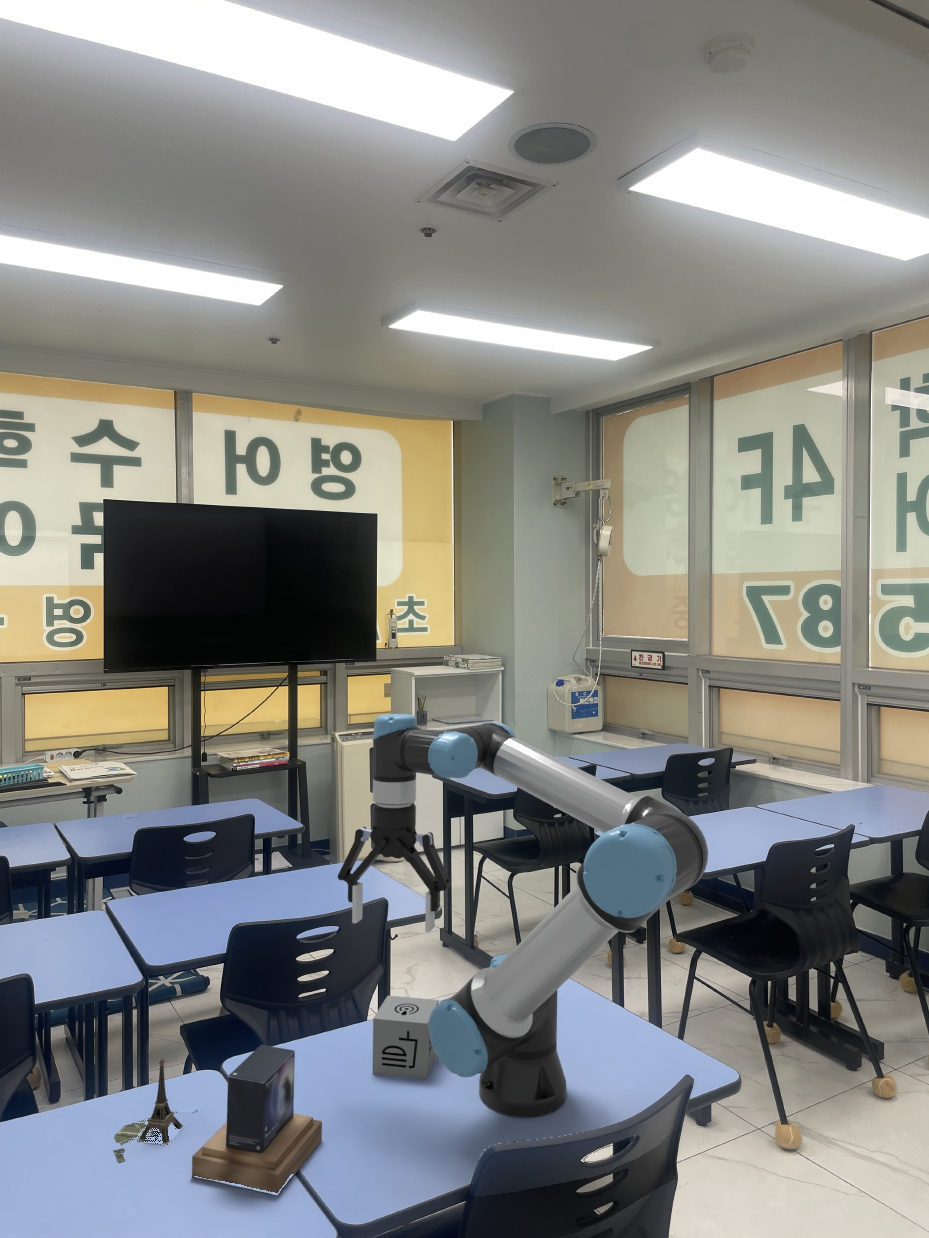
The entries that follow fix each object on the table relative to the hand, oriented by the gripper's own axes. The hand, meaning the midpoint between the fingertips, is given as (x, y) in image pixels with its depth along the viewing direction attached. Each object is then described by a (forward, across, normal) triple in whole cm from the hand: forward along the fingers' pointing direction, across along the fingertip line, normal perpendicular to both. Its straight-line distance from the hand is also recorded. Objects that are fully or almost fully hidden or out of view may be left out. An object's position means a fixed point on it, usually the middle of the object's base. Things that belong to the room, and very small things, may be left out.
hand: (393, 925), depth 151 cm
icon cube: (+29, +1, -10) cm, 31 cm away
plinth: (+29, +12, +24) cm, 39 cm away
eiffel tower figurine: (+29, +30, +23) cm, 48 cm away
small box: (+25, +12, +24) cm, 36 cm away
